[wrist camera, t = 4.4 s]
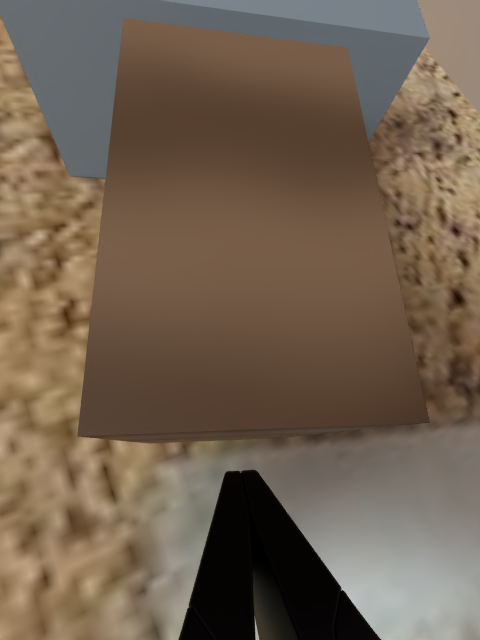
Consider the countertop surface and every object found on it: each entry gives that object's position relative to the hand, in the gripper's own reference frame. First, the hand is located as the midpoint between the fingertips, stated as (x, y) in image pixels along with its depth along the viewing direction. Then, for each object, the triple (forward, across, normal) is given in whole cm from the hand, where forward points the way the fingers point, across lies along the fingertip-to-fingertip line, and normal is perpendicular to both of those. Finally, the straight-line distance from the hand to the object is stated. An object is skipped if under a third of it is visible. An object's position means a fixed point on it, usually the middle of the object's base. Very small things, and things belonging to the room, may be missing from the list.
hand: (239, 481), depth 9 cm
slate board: (+17, 0, -7) cm, 18 cm away
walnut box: (+9, 0, 0) cm, 9 cm away
